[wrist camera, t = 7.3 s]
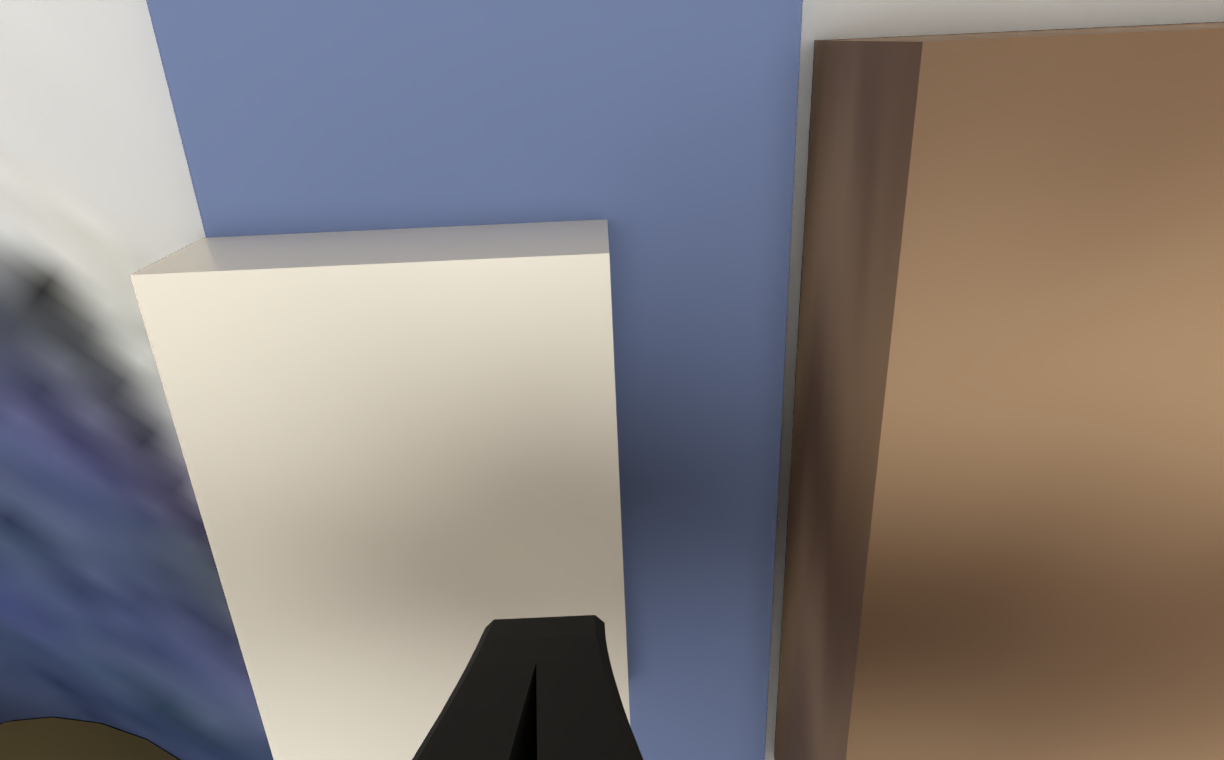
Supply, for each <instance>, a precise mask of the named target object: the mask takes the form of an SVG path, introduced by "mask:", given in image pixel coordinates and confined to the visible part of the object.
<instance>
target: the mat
mask: <svg viewBox="0 0 1224 760" xmlns="http://www.w3.org/2000/svg"><path fill="white" fill-rule="evenodd" d="M146 1H147V5H148V9H149V13H150V17H151V21H152V25H153V29H154V33H155V37H156V41H157V45H158V49H159V53H160V56H161V60H162V64H163V68H164V72H165V76H166V80H167V84H168V88H169V92H170V96H171V100H172V104H173V108H174V112H175V116H176V120H177V124H178V128H179V132H180V136H181V140H182V144H183V148H184V152H185V156H186V160H187V164H188V168H189V172H190V176H191V180H192V184H193V188H194V191H195V195H196V199H197V203H198V207H199V211H200V215H201V219H202V223H203V227H204V231H205V235H206V238H210V237H232V236H254V235H276V234H297V233H319V232H341V231H363V230H385V229H407V228H428V227H450V226H472V225H494V224H516V223H538V222H559V221H581V220H603V219H607V221H608V239H609V257H610V280H611V302H612V325H613V347H614V370H615V392H616V415H617V438H618V460H619V483H620V505H621V528H622V550H623V573H624V596H625V618H626V641H627V663H628V686H629V708H630V727H631V729H632V732H633V734H634V737H635V739H636V742H637V744H638V747H639V750H640V752H641V755H642V757H643V760H765V741H766V721H767V701H768V681H769V661H770V641H771V621H772V601H773V581H774V561H775V541H776V521H777V501H778V481H779V461H780V441H781V421H782V401H783V382H784V362H785V342H786V322H787V302H788V282H789V262H790V242H791V222H792V202H793V182H794V162H795V142H796V122H797V102H798V82H799V62H800V42H801V22H802V2H803V0H146Z"/></svg>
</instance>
